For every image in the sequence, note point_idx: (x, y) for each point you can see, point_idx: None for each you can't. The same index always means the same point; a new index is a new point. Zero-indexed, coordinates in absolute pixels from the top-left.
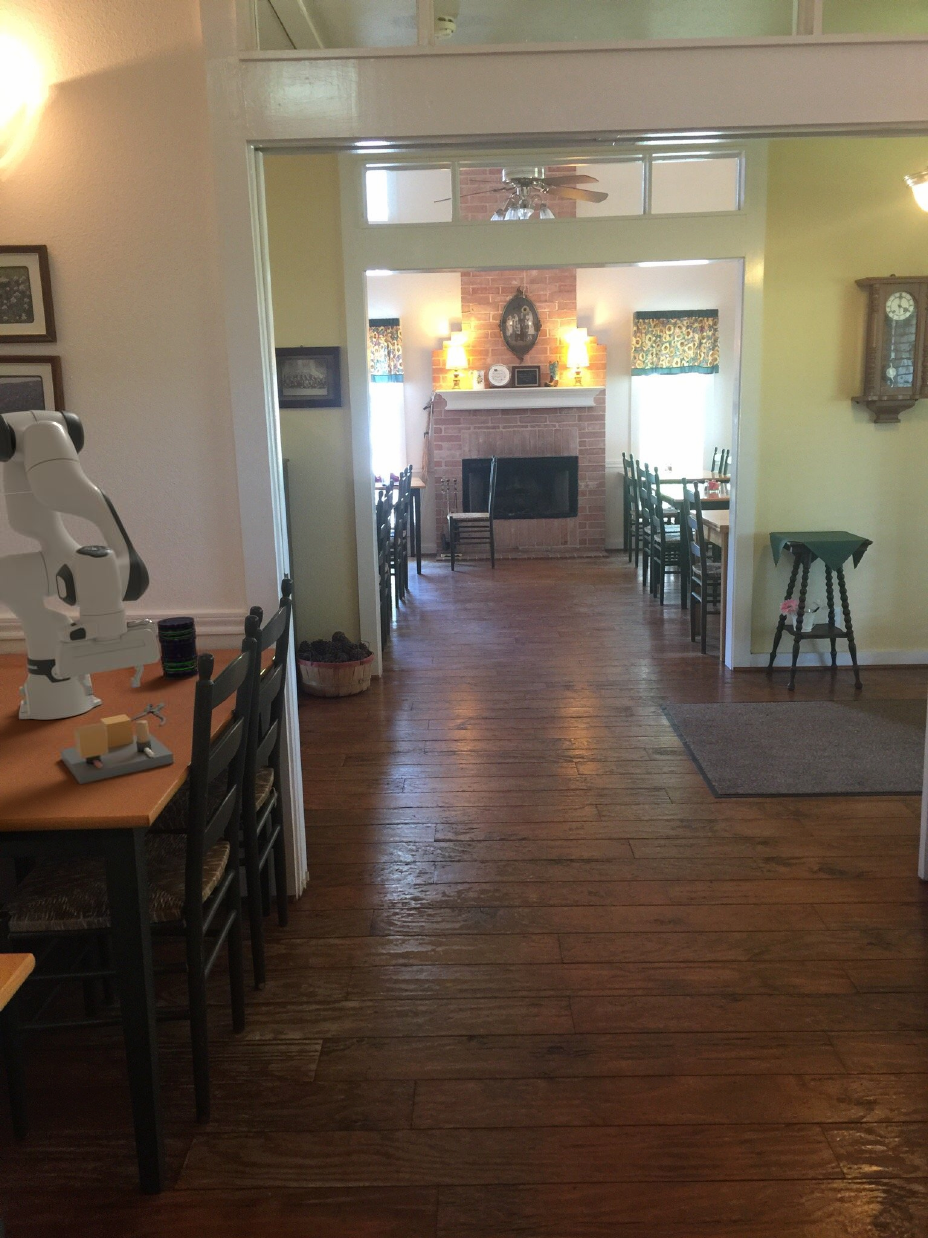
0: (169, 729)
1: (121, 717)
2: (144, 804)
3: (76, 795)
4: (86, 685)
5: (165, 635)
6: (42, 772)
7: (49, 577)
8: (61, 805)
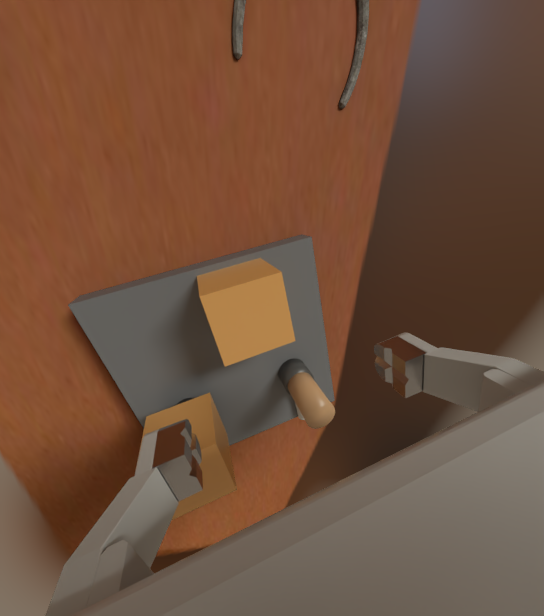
0: (355, 158)
1: (270, 307)
2: None
3: None
4: (167, 527)
5: None
6: (54, 379)
7: None
8: None
